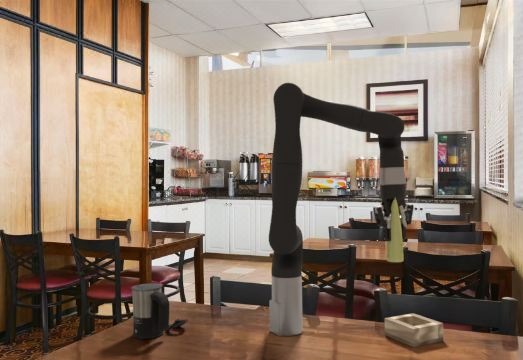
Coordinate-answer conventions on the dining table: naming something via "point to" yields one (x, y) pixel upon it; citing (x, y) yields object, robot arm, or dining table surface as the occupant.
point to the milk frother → (151, 312)
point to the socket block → (414, 329)
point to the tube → (395, 236)
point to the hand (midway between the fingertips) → (394, 239)
